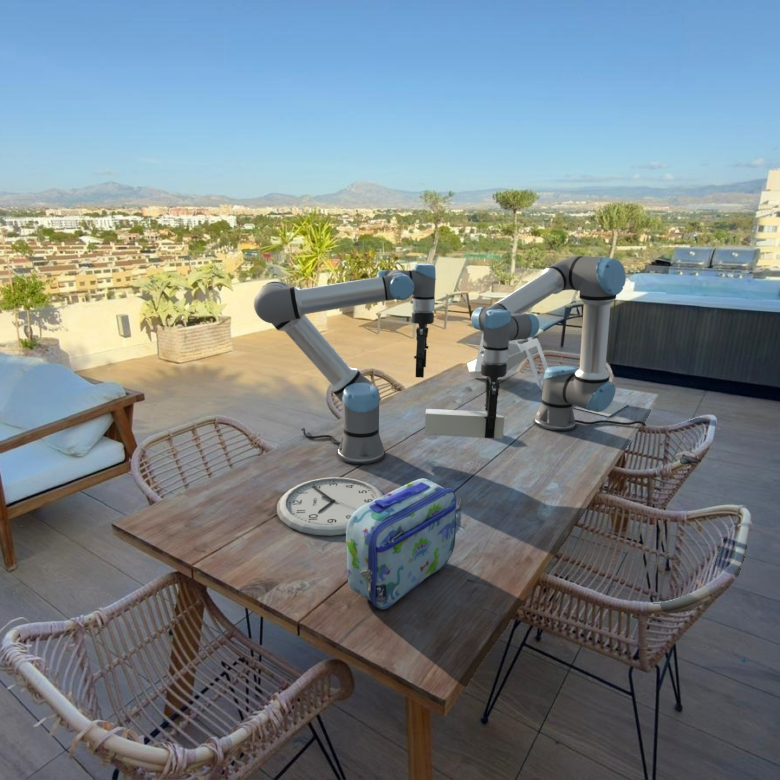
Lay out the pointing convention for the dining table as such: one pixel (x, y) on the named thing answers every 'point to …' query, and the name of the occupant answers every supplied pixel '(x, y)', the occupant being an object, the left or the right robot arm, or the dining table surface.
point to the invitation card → (607, 409)
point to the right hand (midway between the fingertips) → (488, 434)
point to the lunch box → (400, 540)
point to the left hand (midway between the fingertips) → (420, 371)
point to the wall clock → (324, 504)
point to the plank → (460, 423)
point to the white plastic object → (513, 357)
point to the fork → (458, 504)
